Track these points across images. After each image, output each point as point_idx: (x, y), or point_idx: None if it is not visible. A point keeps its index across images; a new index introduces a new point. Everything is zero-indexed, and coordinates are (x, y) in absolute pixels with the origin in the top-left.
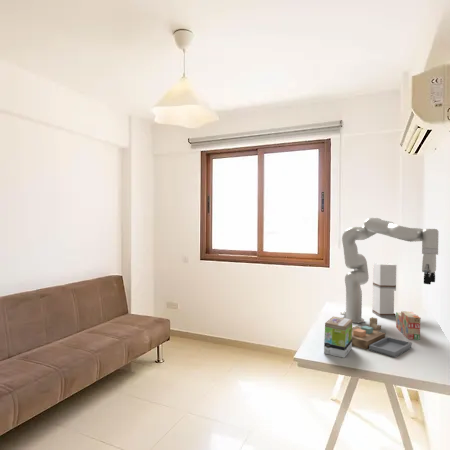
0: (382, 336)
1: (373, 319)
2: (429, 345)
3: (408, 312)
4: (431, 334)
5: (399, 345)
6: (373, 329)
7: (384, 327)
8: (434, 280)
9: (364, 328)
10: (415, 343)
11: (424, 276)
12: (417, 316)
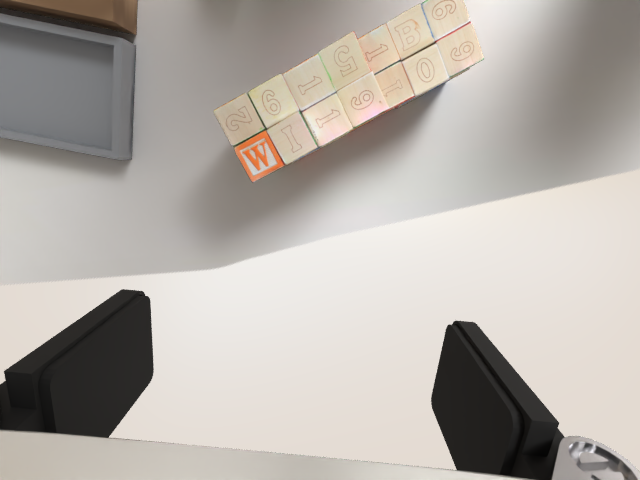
0: (86, 18)
1: None
2: (222, 214)
3: (345, 89)
4: (401, 202)
5: (102, 112)
6: None
7: None
8: (440, 425)
9: None
10: (206, 163)
11: (11, 382)
12: (275, 160)
